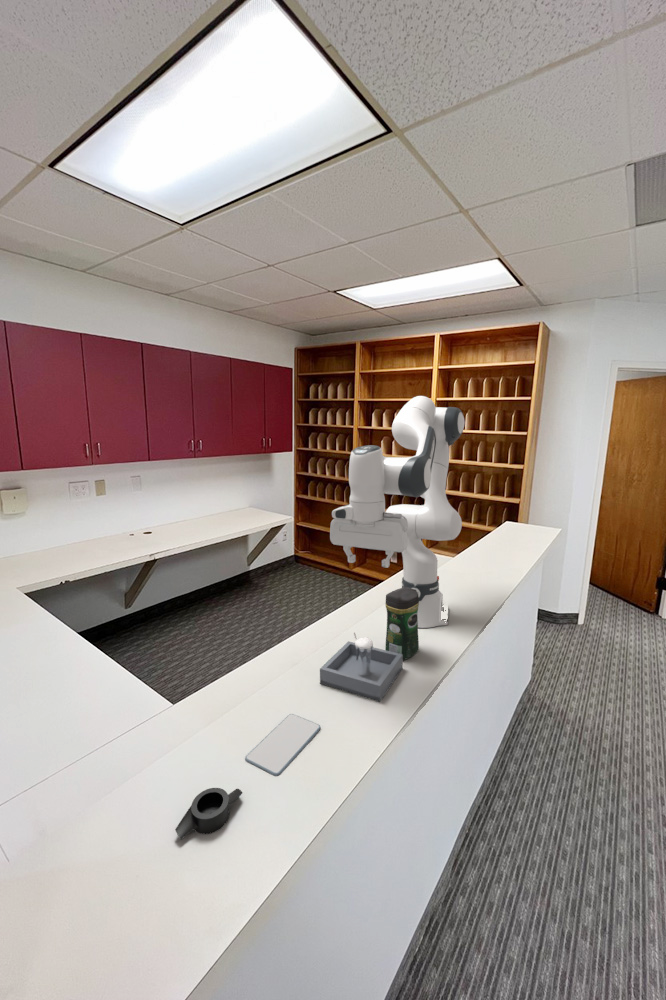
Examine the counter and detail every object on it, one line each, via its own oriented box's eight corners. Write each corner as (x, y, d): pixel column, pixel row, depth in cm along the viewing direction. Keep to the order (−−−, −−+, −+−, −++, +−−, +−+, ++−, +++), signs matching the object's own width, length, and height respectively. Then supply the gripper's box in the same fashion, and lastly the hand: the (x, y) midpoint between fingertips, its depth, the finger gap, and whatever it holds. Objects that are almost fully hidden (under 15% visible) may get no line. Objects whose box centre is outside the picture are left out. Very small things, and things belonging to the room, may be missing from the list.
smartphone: (242, 757, 78) (290, 712, 91) (243, 762, 78) (290, 716, 91) (277, 775, 74) (322, 725, 87) (277, 780, 74) (322, 729, 87)
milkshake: (359, 665, 109) (359, 629, 108) (376, 671, 106) (376, 635, 104) (349, 672, 106) (348, 635, 104) (366, 679, 102) (366, 642, 101)
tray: (348, 654, 117) (348, 641, 116) (402, 668, 109) (402, 654, 109) (320, 683, 103) (319, 668, 102) (379, 702, 95) (379, 686, 95)
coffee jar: (400, 642, 124) (400, 582, 121) (422, 651, 118) (424, 589, 116) (380, 654, 117) (380, 591, 114) (403, 664, 111) (404, 598, 109)
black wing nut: (242, 834, 64) (241, 818, 63) (174, 847, 62) (172, 830, 61) (243, 793, 71) (242, 778, 71) (182, 803, 69) (181, 788, 69)
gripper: (411, 511, 101) (411, 565, 103) (337, 506, 110) (339, 556, 113) (403, 516, 95) (403, 573, 97) (326, 511, 105) (328, 563, 107)
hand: (368, 564), depth 105 cm, fingers open, 8 cm apart
